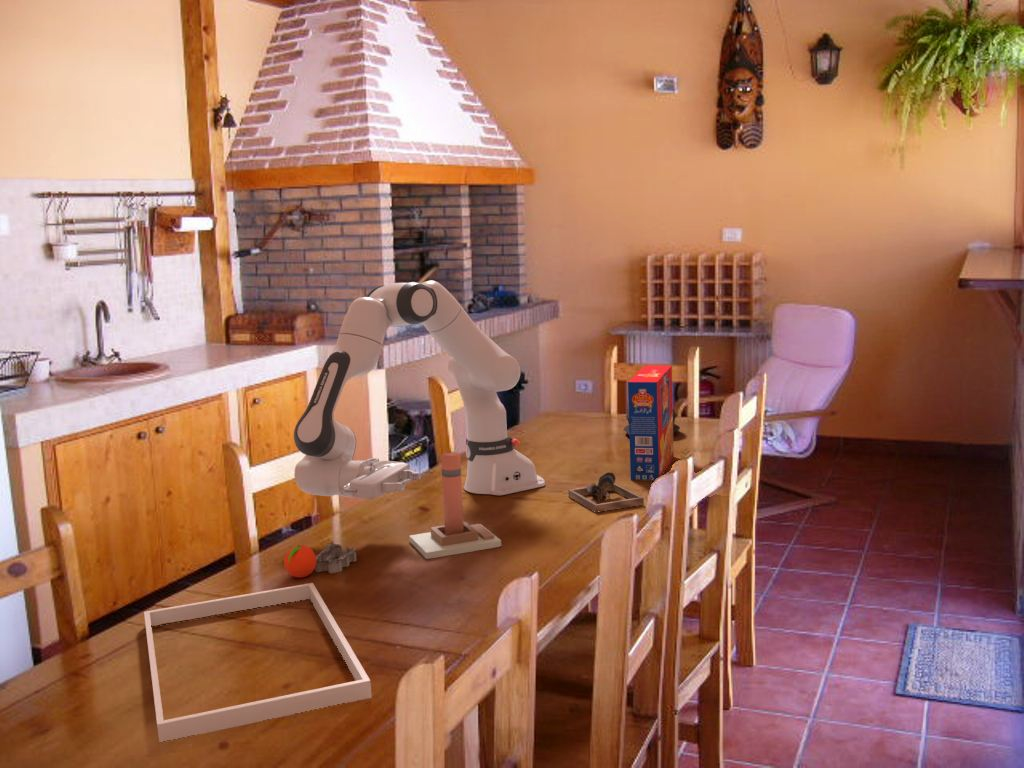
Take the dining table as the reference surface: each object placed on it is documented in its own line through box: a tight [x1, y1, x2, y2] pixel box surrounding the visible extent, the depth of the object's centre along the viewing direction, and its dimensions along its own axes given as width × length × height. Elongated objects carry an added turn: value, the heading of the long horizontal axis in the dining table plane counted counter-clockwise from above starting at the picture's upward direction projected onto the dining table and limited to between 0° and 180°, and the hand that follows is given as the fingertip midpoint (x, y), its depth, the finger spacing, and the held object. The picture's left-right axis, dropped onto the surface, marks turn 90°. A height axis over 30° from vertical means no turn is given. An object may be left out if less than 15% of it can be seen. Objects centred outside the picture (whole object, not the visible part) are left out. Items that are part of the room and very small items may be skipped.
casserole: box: [623, 408, 681, 436], centre depth 350 cm, size 25×19×8 cm
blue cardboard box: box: [627, 365, 675, 482], centre depth 305 cm, size 28×8×28 cm, turn 163°
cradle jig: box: [408, 521, 502, 560], centre depth 247 cm, size 18×14×4 cm
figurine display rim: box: [567, 483, 645, 513], centre depth 276 cm, size 14×17×2 cm
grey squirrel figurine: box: [586, 472, 616, 503], centre depth 279 cm, size 8×7×9 cm
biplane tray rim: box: [143, 582, 373, 743], centre depth 189 cm, size 33×50×3 cm, turn 21°
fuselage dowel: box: [440, 451, 464, 536], centre depth 245 cm, size 4×4×20 cm
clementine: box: [283, 544, 317, 579], centre depth 229 cm, size 8×7×7 cm
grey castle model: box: [314, 540, 358, 574], centre depth 237 cm, size 11×8×4 cm
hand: (411, 481), depth 248 cm, fingers open, 8 cm apart
